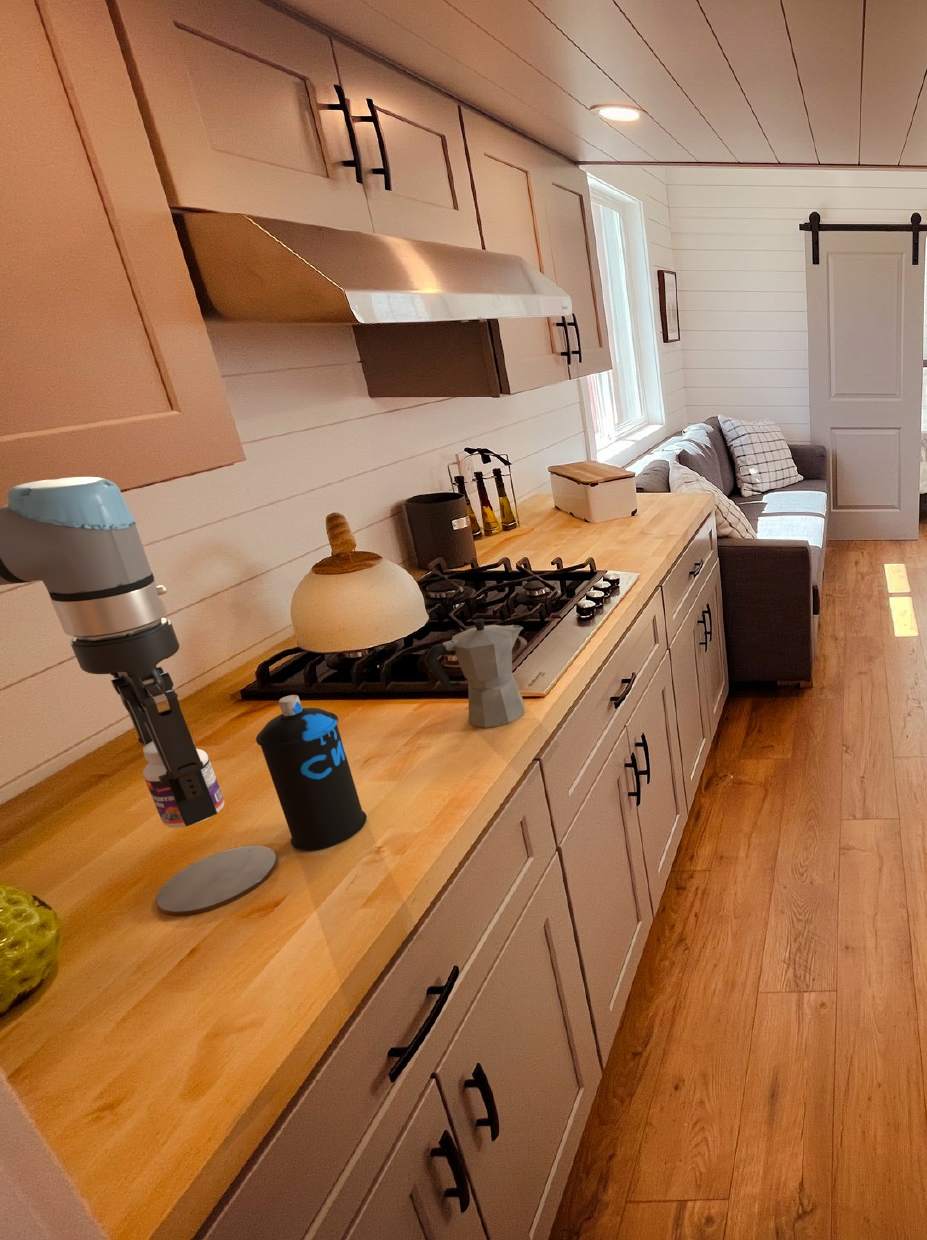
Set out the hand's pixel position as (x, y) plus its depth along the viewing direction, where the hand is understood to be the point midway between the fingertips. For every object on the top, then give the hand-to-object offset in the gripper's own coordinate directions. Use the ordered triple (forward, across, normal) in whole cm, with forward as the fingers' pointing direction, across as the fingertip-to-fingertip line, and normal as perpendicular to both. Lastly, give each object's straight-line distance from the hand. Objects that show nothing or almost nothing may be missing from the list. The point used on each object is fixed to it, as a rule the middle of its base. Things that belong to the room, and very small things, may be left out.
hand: (192, 808), depth 82 cm
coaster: (+11, 0, 0) cm, 11 cm away
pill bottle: (+1, 0, 0) cm, 1 cm away
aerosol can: (+11, 0, -11) cm, 16 cm away
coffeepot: (+11, +10, -39) cm, 42 cm away
